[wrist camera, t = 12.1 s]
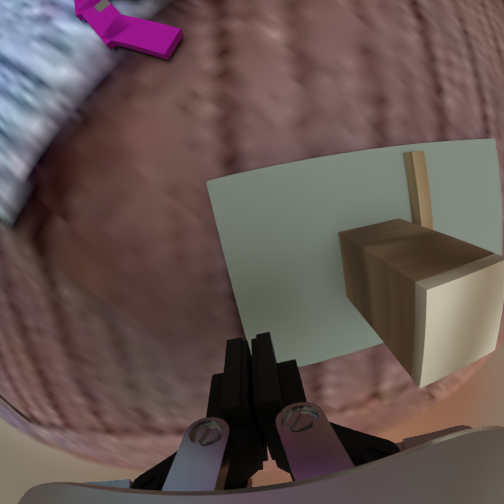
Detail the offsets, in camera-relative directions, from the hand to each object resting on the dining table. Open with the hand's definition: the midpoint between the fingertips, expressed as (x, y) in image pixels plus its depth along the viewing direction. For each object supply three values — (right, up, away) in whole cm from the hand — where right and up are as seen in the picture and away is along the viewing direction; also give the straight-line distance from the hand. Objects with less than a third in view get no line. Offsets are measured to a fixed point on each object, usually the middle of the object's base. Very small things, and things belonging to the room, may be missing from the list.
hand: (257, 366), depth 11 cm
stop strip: (+12, +5, +8) cm, 15 cm away
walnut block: (+8, +4, +8) cm, 12 cm away
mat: (+10, +5, +8) cm, 14 cm away
